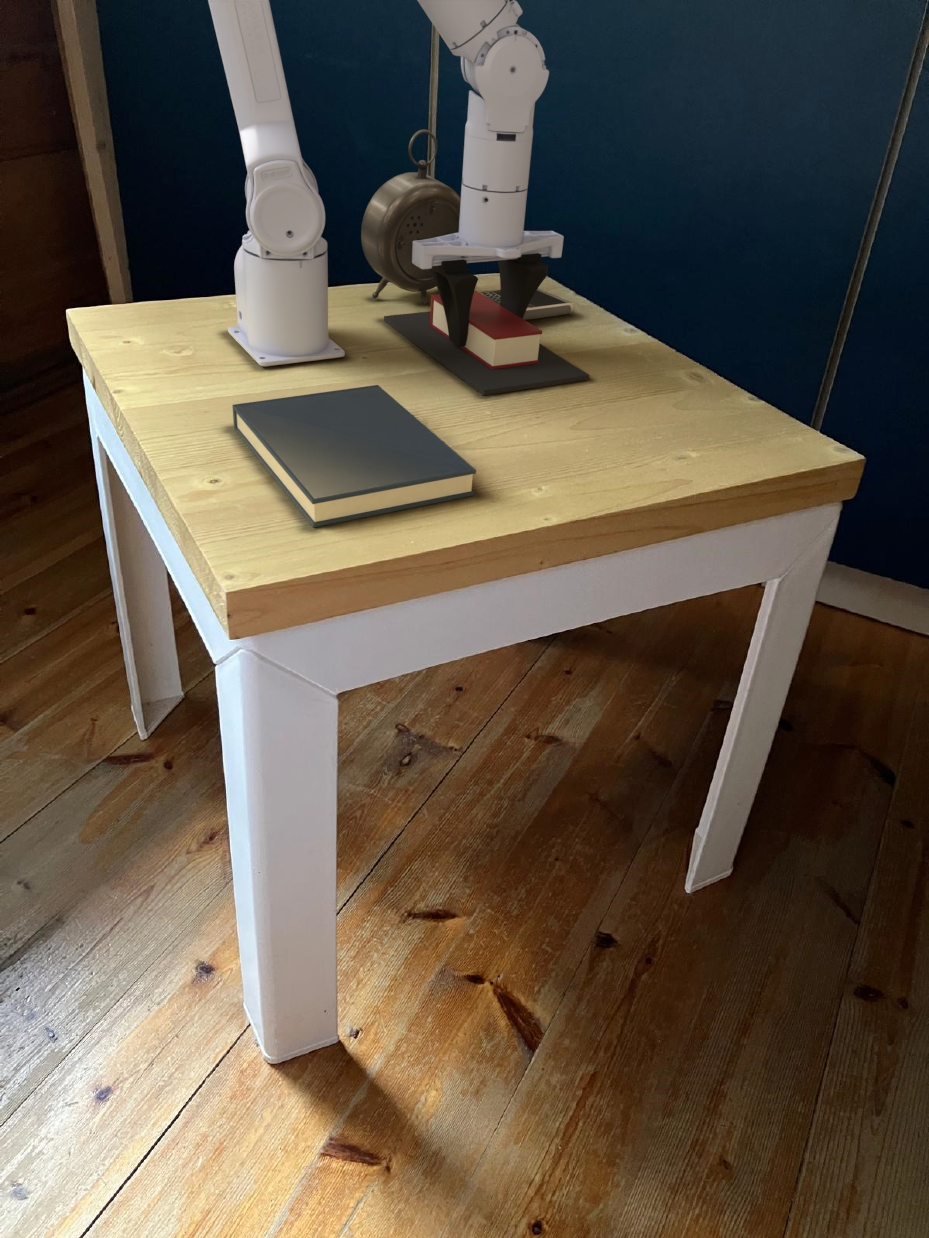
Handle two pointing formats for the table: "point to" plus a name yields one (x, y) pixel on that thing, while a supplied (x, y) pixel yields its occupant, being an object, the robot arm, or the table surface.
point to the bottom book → (351, 454)
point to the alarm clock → (407, 224)
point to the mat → (477, 373)
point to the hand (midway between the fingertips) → (482, 339)
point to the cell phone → (539, 304)
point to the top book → (492, 333)
